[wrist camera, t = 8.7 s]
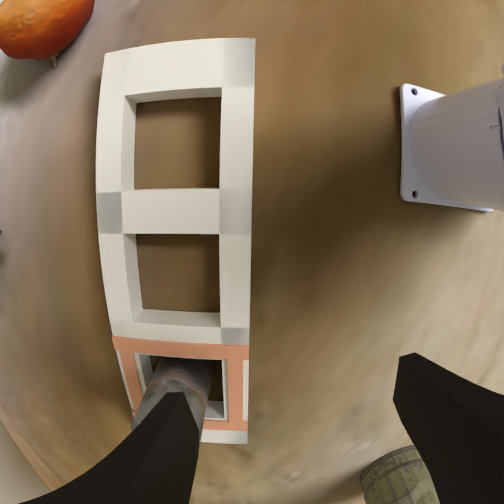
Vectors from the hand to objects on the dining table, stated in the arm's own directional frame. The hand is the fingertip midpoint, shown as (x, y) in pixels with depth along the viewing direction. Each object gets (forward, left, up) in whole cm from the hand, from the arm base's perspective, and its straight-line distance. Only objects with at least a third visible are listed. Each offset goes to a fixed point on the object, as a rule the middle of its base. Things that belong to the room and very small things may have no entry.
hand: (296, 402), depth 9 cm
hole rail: (+6, -1, -10) cm, 12 cm away
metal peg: (+6, +7, -10) cm, 14 cm away
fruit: (+16, -20, -11) cm, 28 cm away
